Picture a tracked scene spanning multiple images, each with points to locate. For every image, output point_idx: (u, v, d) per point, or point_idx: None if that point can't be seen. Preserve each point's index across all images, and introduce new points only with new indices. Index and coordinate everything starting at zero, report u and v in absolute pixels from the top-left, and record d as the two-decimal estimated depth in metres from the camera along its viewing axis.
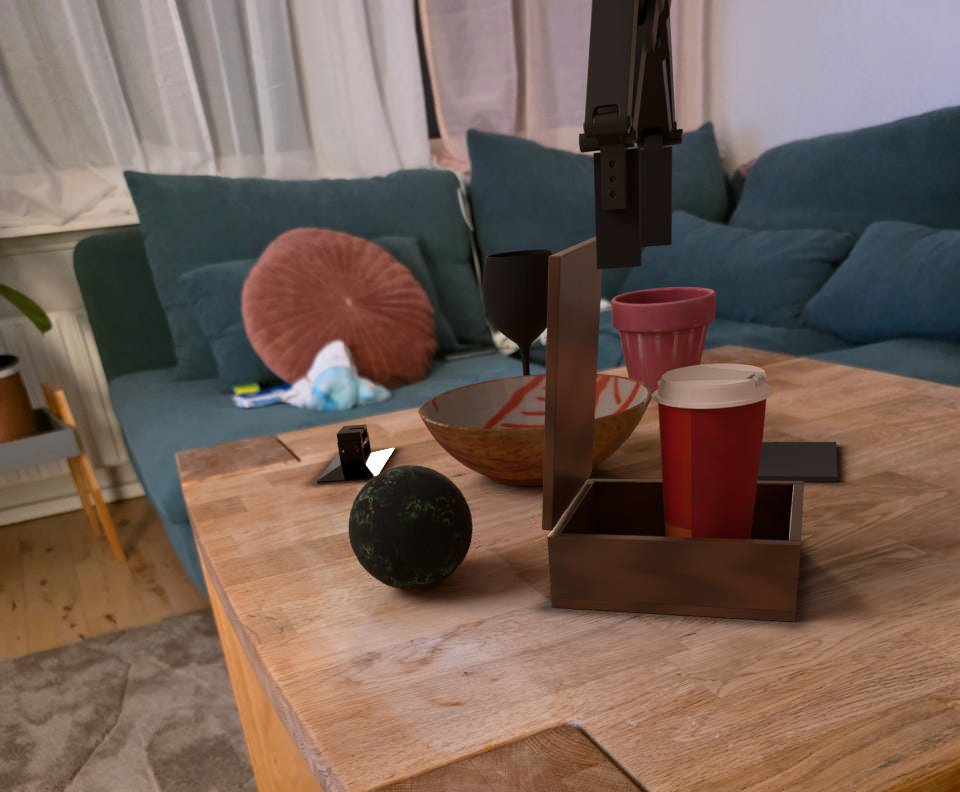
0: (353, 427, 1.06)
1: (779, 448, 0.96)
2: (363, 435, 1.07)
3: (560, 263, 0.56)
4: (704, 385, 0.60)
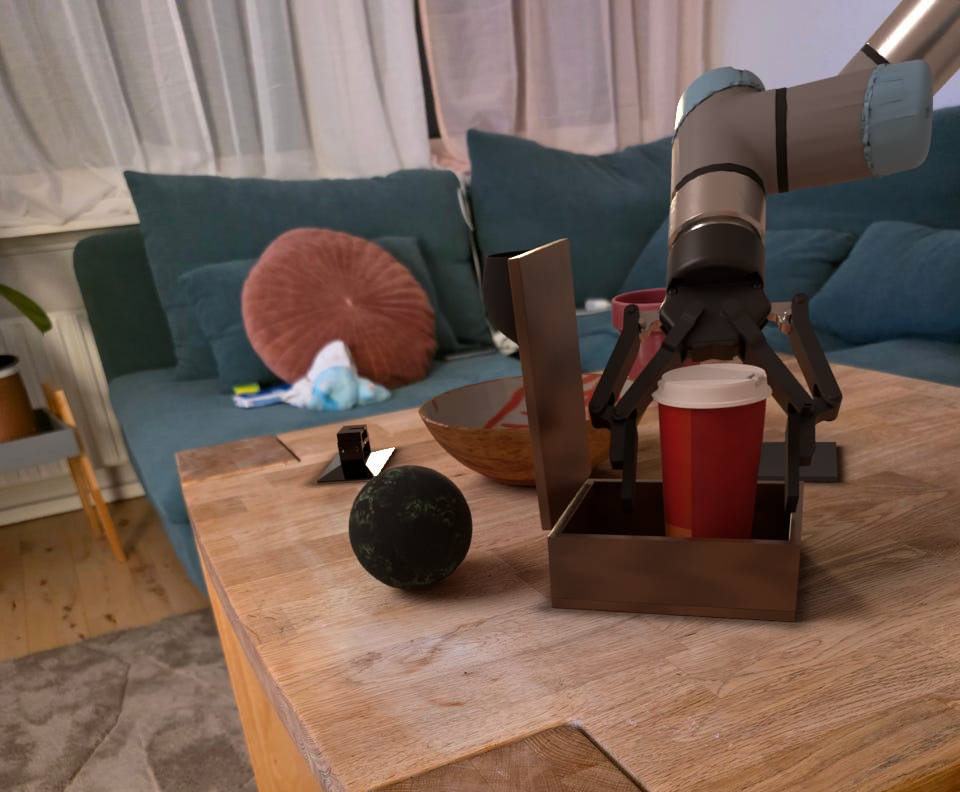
0: (353, 427, 1.06)
1: (779, 448, 0.96)
2: (363, 435, 1.07)
3: (520, 264, 0.57)
4: (704, 385, 0.60)
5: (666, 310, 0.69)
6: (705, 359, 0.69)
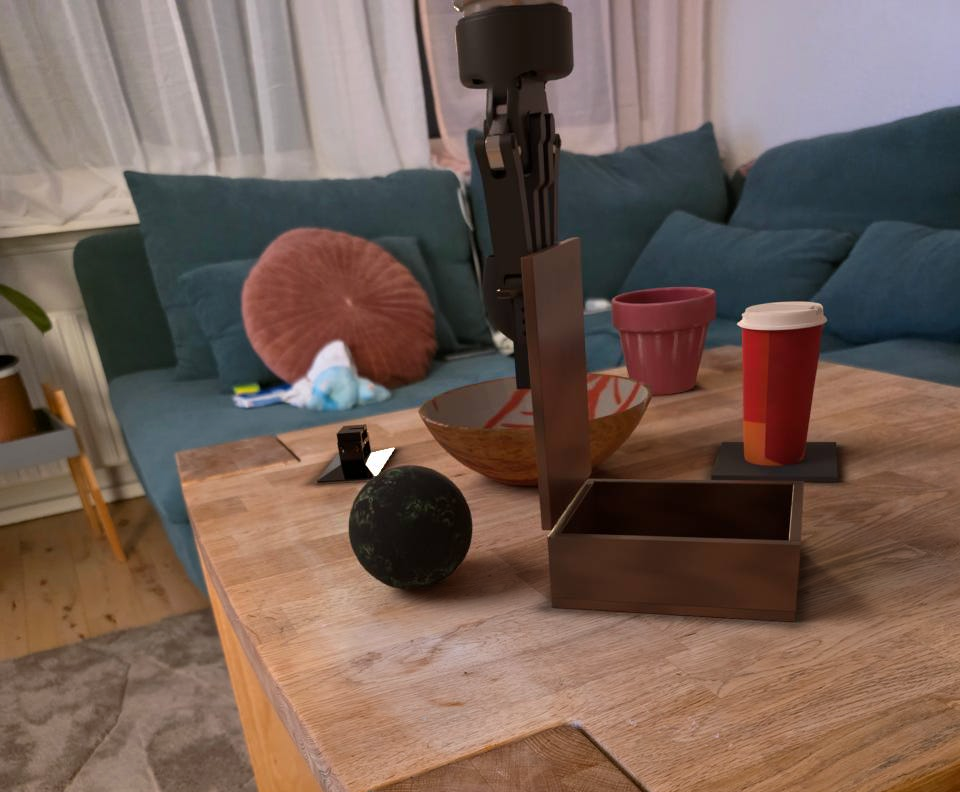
0: (353, 427, 1.06)
1: None
2: (363, 435, 1.07)
3: (532, 263, 0.57)
4: (780, 313, 0.84)
5: (519, 114, 0.56)
6: None
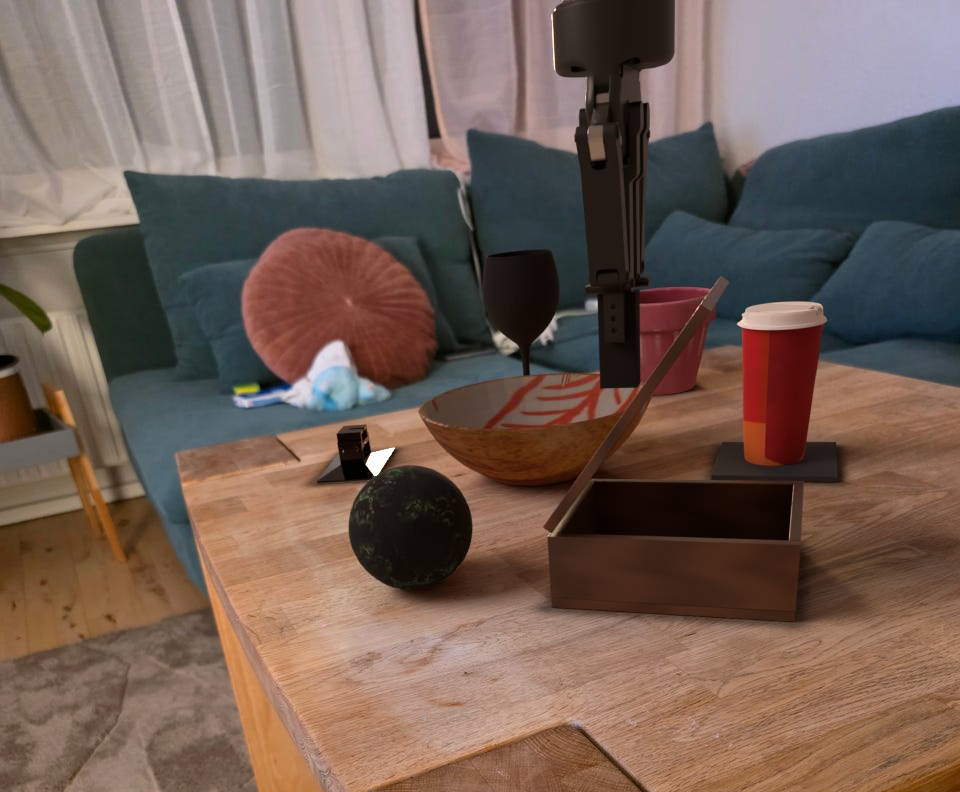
0: (353, 427, 1.06)
1: None
2: (363, 435, 1.07)
3: (706, 317, 0.55)
4: (779, 313, 0.84)
5: (621, 103, 0.54)
6: None
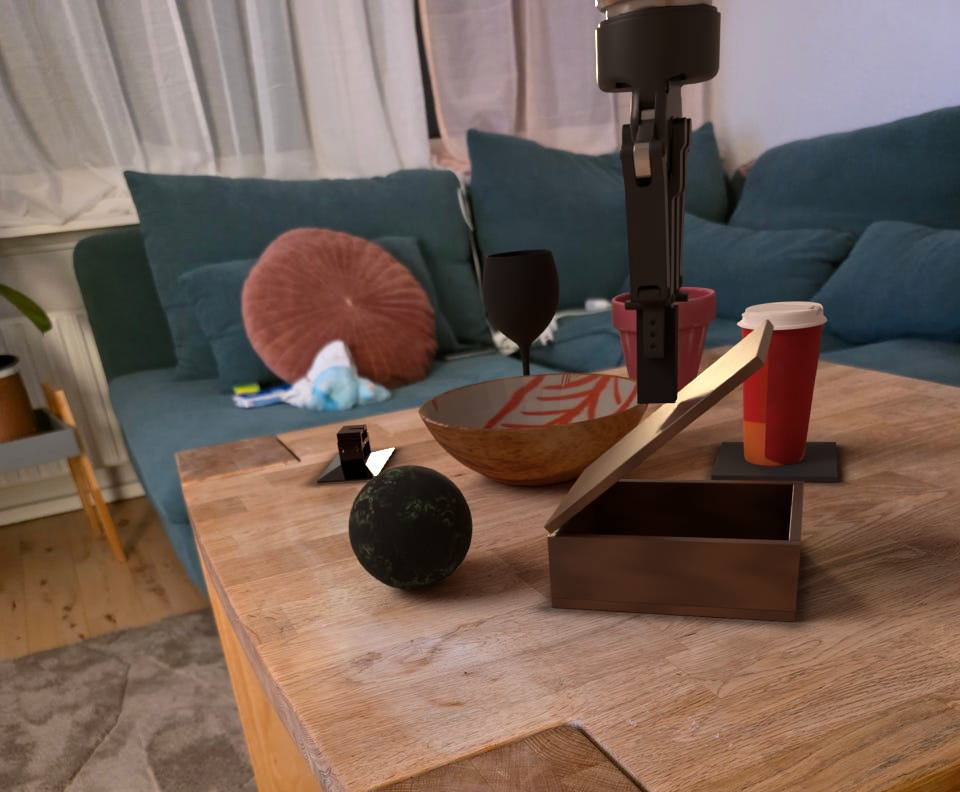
0: (353, 427, 1.06)
1: None
2: (363, 435, 1.07)
3: None
4: (779, 313, 0.84)
5: (666, 120, 0.54)
6: None
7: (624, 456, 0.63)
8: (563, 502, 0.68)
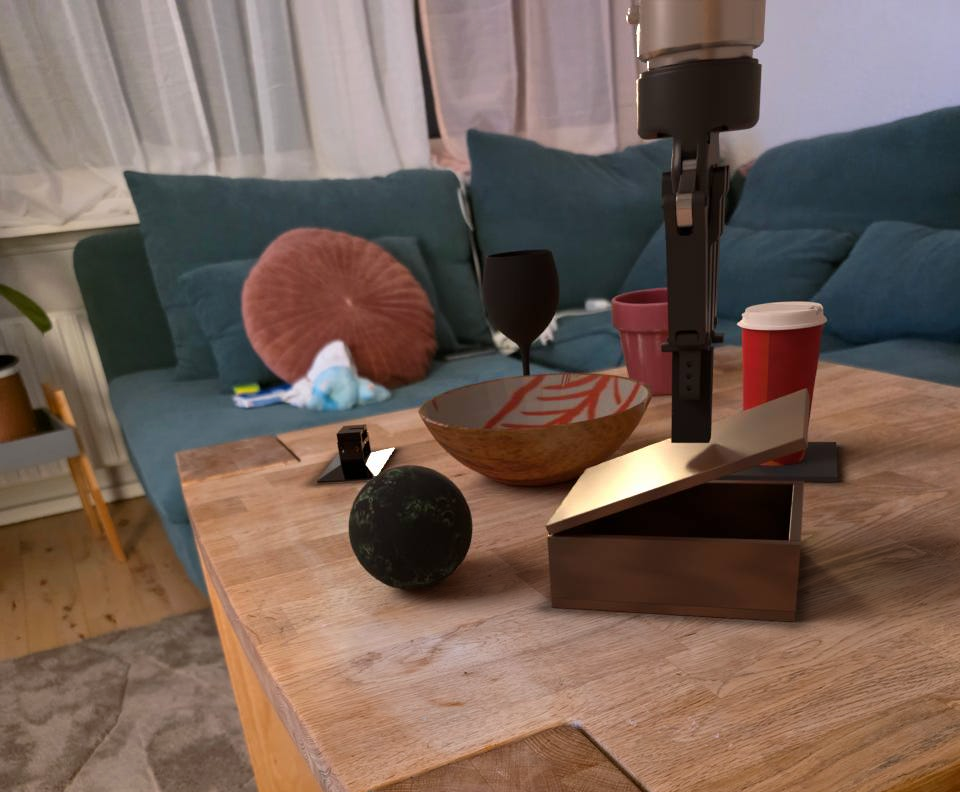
0: (353, 427, 1.06)
1: None
2: (363, 435, 1.07)
3: (800, 450, 0.57)
4: (779, 313, 0.84)
5: (707, 170, 0.54)
6: None
7: (642, 483, 0.64)
8: (566, 504, 0.68)
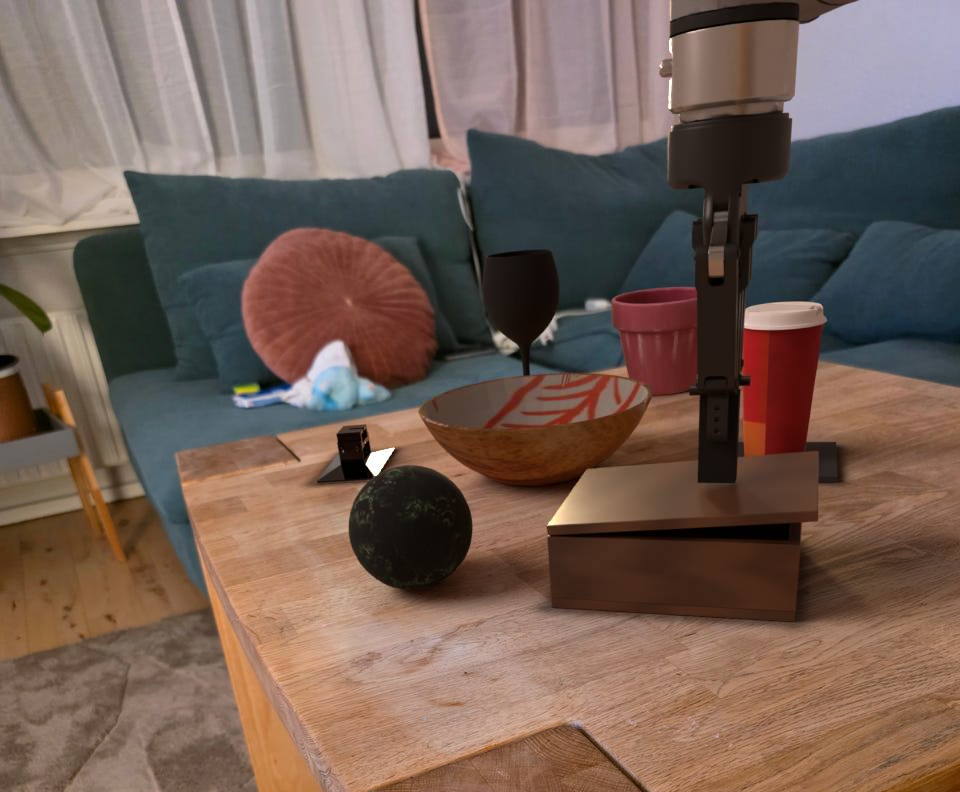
0: (353, 427, 1.06)
1: None
2: (363, 435, 1.07)
3: (811, 521, 0.59)
4: (779, 313, 0.84)
5: (738, 221, 0.55)
6: None
7: (650, 508, 0.64)
8: (568, 506, 0.68)
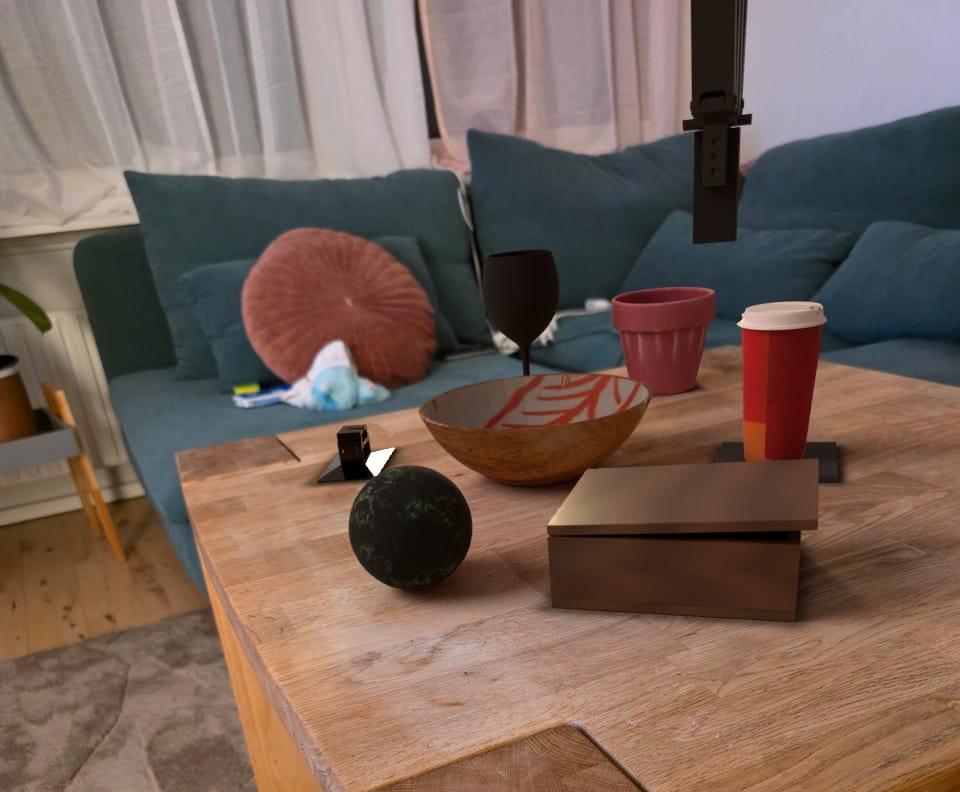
0: (353, 427, 1.06)
1: None
2: (363, 435, 1.07)
3: None
4: (779, 313, 0.84)
5: None
6: None
7: (650, 511, 0.65)
8: (568, 506, 0.68)
